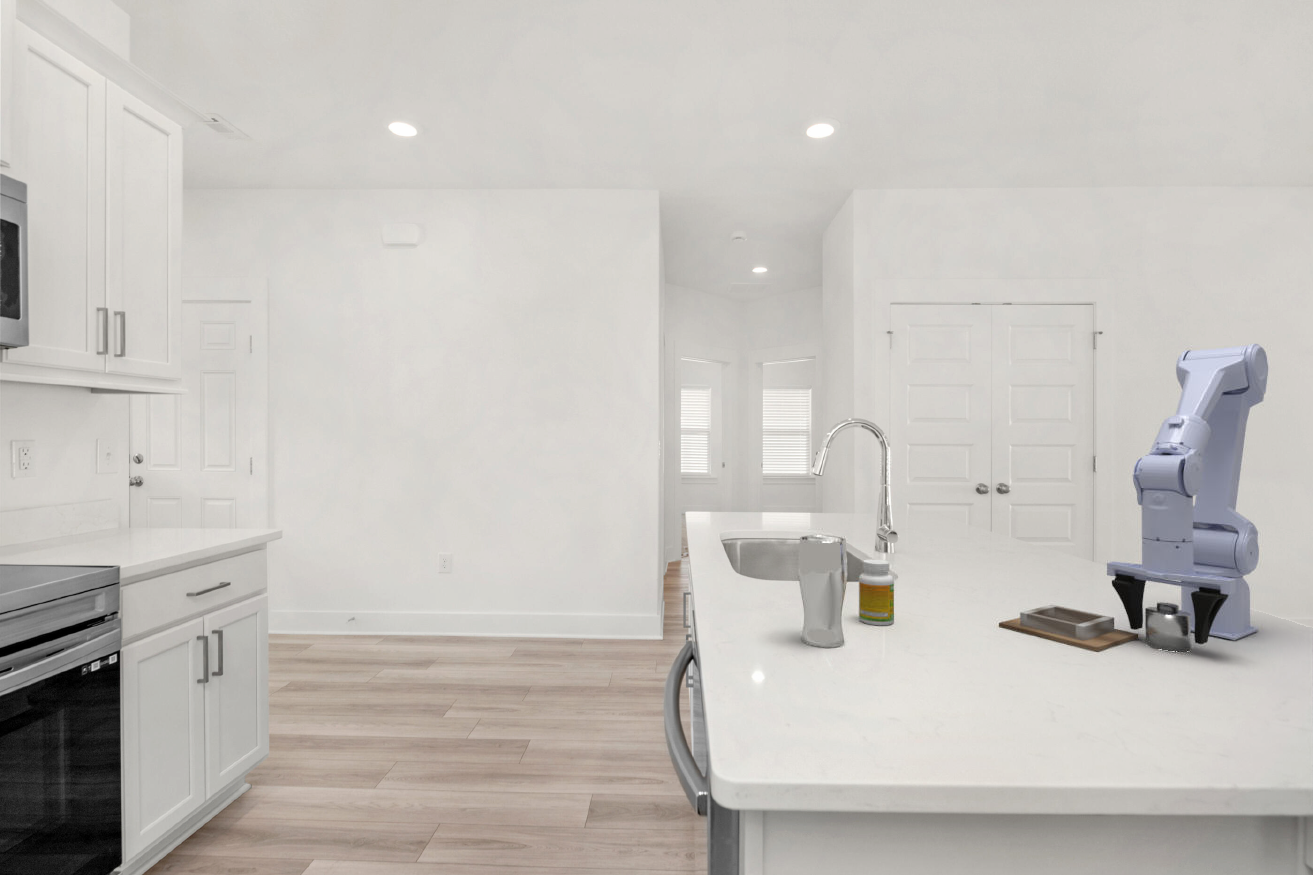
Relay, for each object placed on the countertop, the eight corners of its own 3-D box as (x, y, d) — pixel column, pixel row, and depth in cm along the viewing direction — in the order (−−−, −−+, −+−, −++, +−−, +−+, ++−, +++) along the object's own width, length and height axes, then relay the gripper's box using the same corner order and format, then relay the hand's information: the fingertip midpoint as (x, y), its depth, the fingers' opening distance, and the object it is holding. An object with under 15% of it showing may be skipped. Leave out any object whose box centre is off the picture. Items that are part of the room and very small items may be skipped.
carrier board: (1041, 615, 106) (1040, 600, 106) (1138, 637, 94) (1138, 620, 94) (998, 626, 100) (998, 610, 100) (1097, 651, 88) (1097, 632, 88)
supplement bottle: (896, 627, 100) (896, 565, 100) (860, 625, 101) (860, 563, 101) (891, 617, 106) (891, 558, 106) (857, 616, 107) (857, 557, 107)
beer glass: (794, 645, 91) (794, 540, 91) (802, 631, 98) (802, 533, 98) (845, 651, 89) (844, 543, 89) (849, 637, 95) (849, 536, 95)
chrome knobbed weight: (1155, 639, 94) (1154, 598, 94) (1197, 648, 90) (1196, 606, 90) (1138, 645, 91) (1138, 603, 91) (1181, 655, 87) (1181, 610, 87)
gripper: (1096, 534, 95) (1096, 626, 95) (1220, 548, 82) (1221, 654, 82) (1119, 531, 98) (1120, 619, 98) (1241, 544, 86) (1242, 645, 86)
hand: (1167, 635), depth 91 cm, fingers open, 7 cm apart
